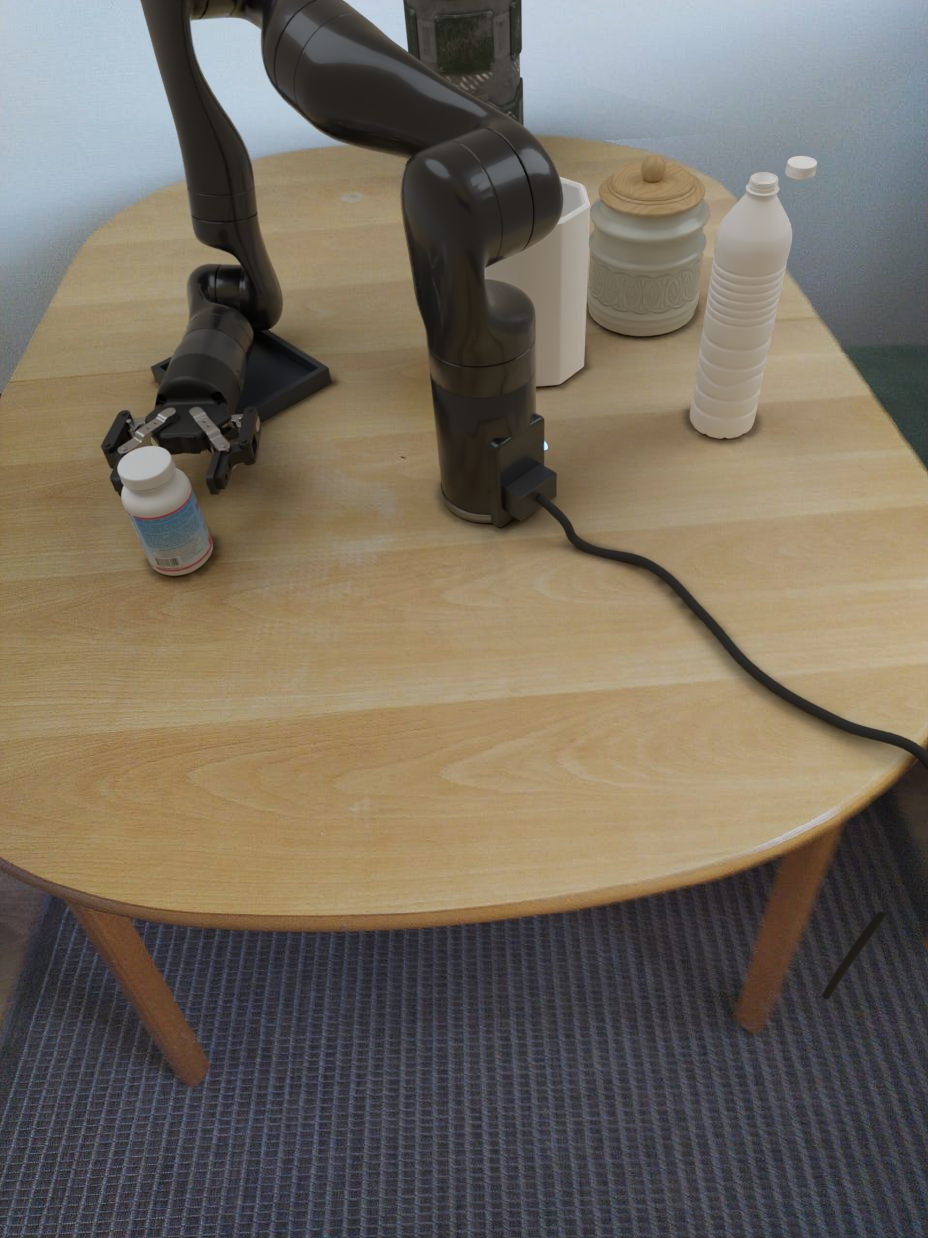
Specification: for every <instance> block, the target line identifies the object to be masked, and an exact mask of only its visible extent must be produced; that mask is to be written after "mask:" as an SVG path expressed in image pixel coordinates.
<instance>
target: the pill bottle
mask: <svg viewBox="0 0 928 1238" xmlns="http://www.w3.org/2000/svg"><path fill="white" fill-rule="evenodd" d="M117 470H118V474H119V476H120V478H121V482H122V484H123V485H124V486H123V489H122V493H121V497H120V498H121V503H122V505H123V508H124V510H125V512H126V515H127V517H128V519H129V521H130V523H131V526H132V528H133V529H134V532H135V534H136V536H137V539H138V541H139V543H140V545H141V547H142V549H143V552H144V554H145V556H146V559H147V560H148V562H149V564H150V566H151V567H152V569H153V570H155V571H156V572H158V573H159V574H162V575H165V576H171V577H172V576H175V577H176V576H183V575H187V574H190V573H193V572H195V571H196V570H198V569H199V568H201V567H202V566H203V565H204V564H205V563H206V562H207V561H208V560H209V559H210V557H211V555H212V553H213V549H214V542H213V539H212V536H211V533H210V531H209V528H208V526H207V523H206V520H205V518H204V515H203V512H202V509H201V508H200V505H199V502H198V499H197V496H196V494H195V491H194V489H193V486H192V484H191V481H190V479H189V477H188V476H187V474H185V472H184V471H182V470H181V469H179V468H177V467H176V464H175V461H174V459H173V457H172V455H170V453H169V452H168V451H167V450H166V449H164V448H161V447H159V446H158V445H153V446H146V447H141V448H138V449H135V450H133V451H131V452H129V453H128V454H126V455H125V456H124V457H123V458H122V459H121V460H120V462H119V464H118V467H117Z"/></svg>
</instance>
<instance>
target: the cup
mask: <svg viewBox="0 0 928 1238" xmlns="http://www.w3.org/2000/svg"><path fill="white" fill-rule="evenodd" d="M559 177H560V180H561V184H562V190H563V210H562V214H561V217H560V219H559V221H558V223H557V225H556V226H555V228H554V229H553V230H552V231H551V233H550V234H548V235H547V236H546V237H545V238H543V239H542V240H541V241H539V242H538V243H536V244H534V245H533V246H531V247H529V248H528V249H526V250H524V251H522V252H519V253H517V254H515V255H513V256H510V257H508V258H506V259H504V260H502V261H499V262H497V263H495V264H493V265H491V266H488V267H486V268H485V279H490V280H497V281H502V282H505V283H508V284H511V285H513V286H515V287H517V288H519V289H521V290H522V291H523V292H525V293H526V294H527V295H528V296H529V298H530V299H531V301H532V302H533V305H534V308H535V314H536V387H547V386H559V385H561V384H563V383H564V382H565V381H566V380H568V379H569V378H571V377H572V376H574V375H576V373H578V372H579V371H580V370H581V369H583V368H584V366H585V354H586V353H585V351H586V330H587V329H586V328H587V327H586V325H587V305H588V302H587V287H588V280H589V254H590V247H589V238H590V226H591V225H590V224H591V217H590V209H591V203H590V200H589V199H590V198H589V196H588V192H587V189H586V186H585V185H584V184H582V183H579V182H577V181H574V180H571V179H568V178H564V177H562V176H559Z"/></svg>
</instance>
